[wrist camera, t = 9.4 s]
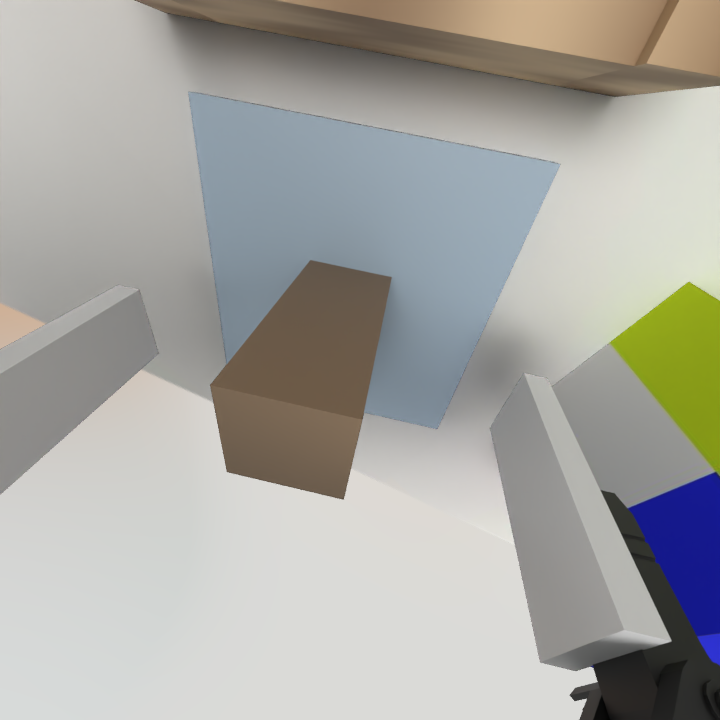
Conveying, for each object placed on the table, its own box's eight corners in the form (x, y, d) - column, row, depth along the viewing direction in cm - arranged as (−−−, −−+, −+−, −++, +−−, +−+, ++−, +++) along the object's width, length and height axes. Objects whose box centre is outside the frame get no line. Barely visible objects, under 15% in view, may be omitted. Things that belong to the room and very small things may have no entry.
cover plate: (237, 371, 20) (130, 515, 12) (204, 93, 11) (-153, 55, 4) (436, 416, 19) (443, 591, 12) (550, 160, 11) (777, 240, 4)
